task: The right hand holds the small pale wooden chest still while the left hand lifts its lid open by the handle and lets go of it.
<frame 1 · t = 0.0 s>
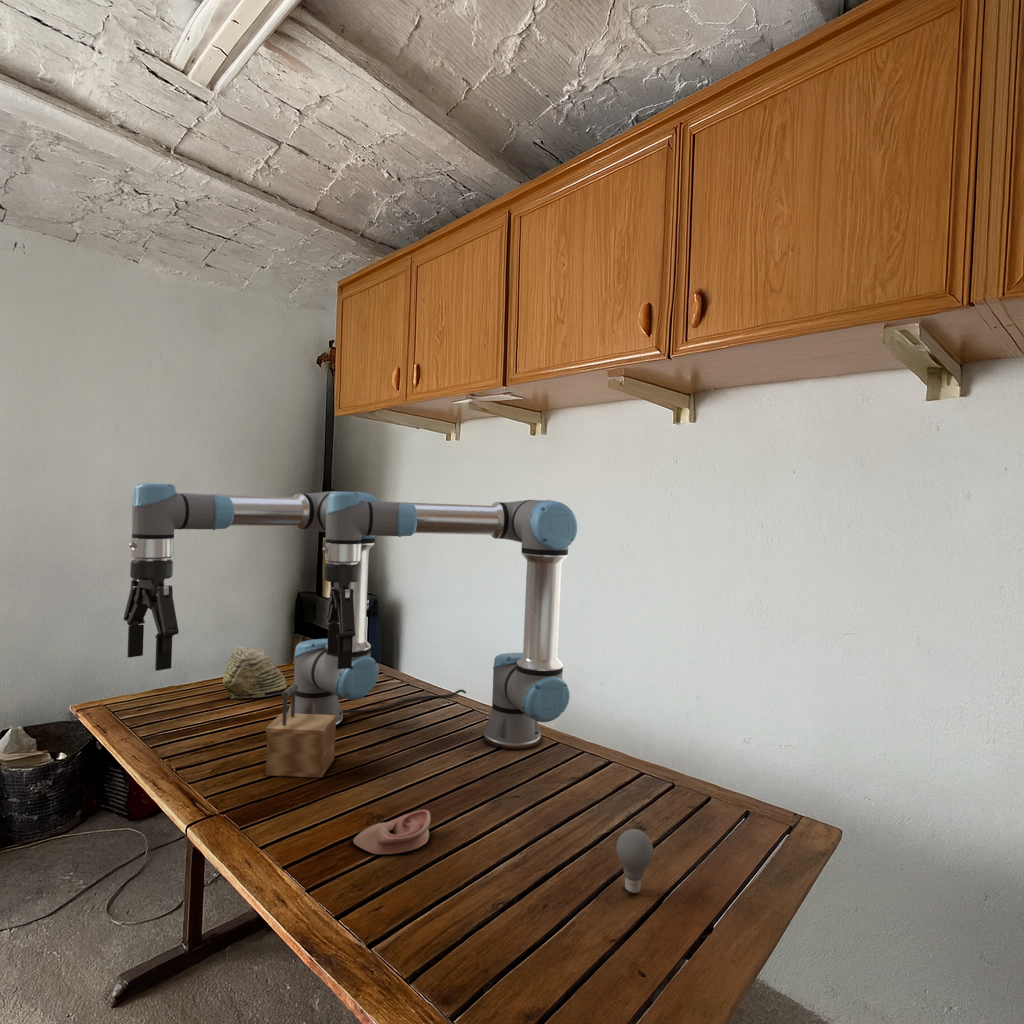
left hand: (148, 662, 129), 28 cm above the table, tool pointing down, fingers open, 13 cm apart
right hand: (338, 660, 137), 28 cm above the table, tool pointing down, fingers open, 13 cm apart
anatomical model: (392, 839, 118), on the table
fossil: (254, 694, 198), on the table
lid: (302, 706, 148), point 14 cm above the table, hinge at 0.0°
light bulb: (632, 891, 106), on the table
chest: (301, 766, 148), on the table
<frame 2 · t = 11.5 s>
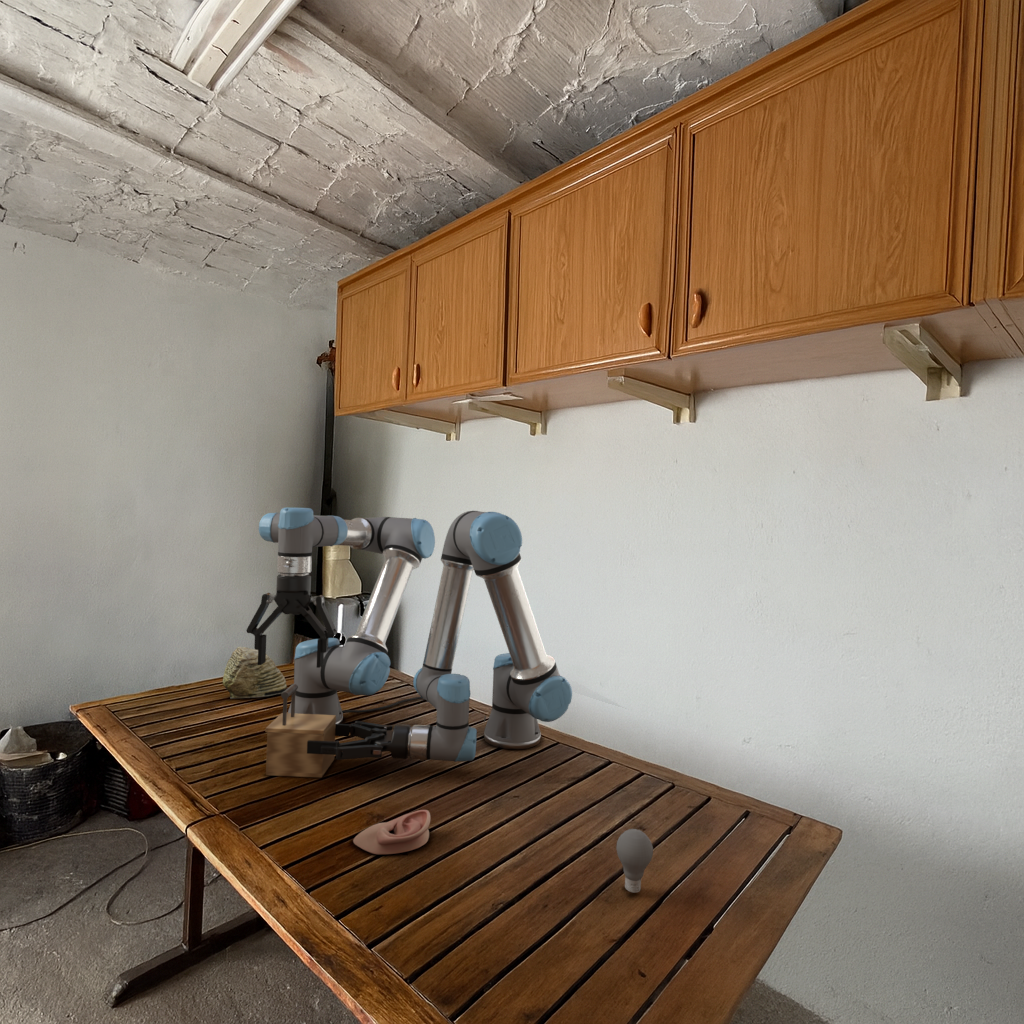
left hand: (290, 665, 147), 24 cm above the table, tool pointing down, fingers open, 13 cm apart
right hand: (315, 737, 148), 7 cm above the table, tool horizontal, fingers closed on chest, 10 cm apart
chest: (301, 766, 148), on the table, touching right hand
everything else where it was.
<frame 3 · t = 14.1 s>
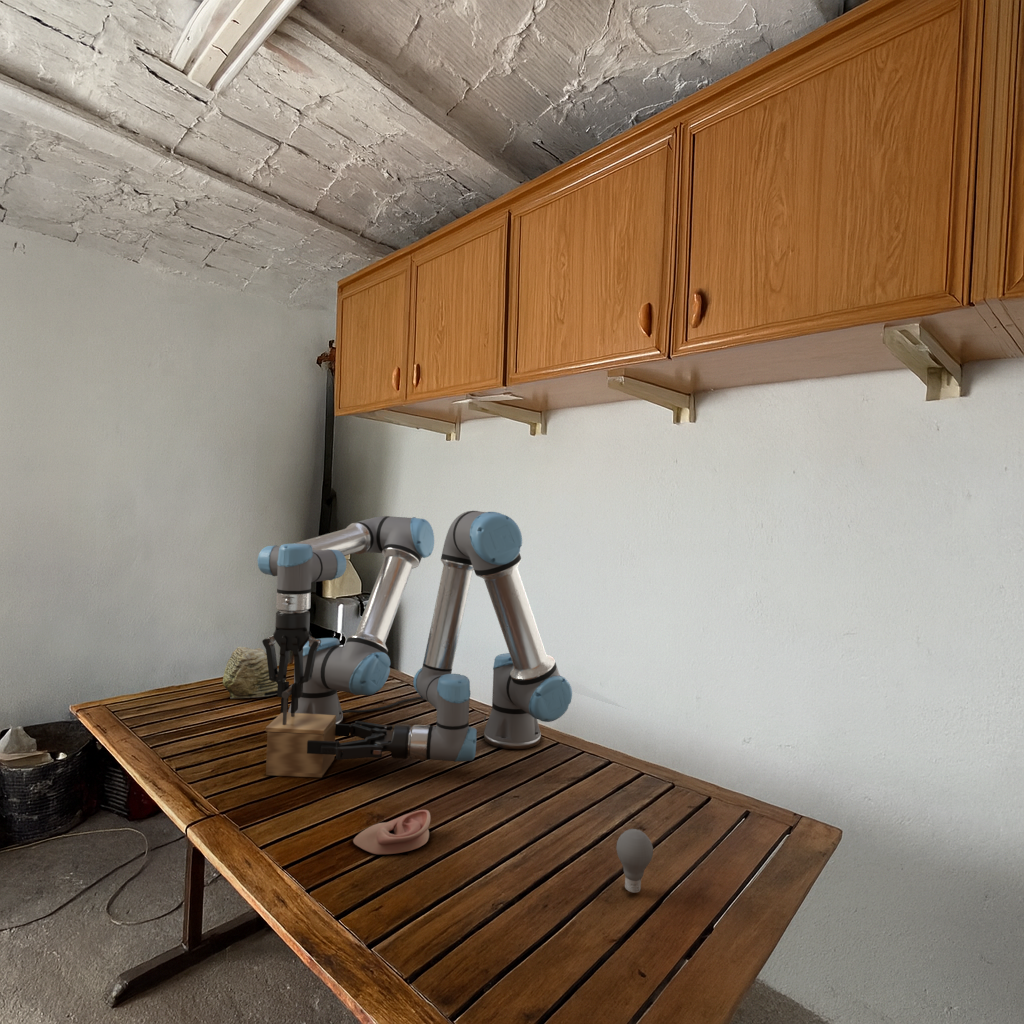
left hand: (289, 710, 148), 13 cm above the table, tool pointing down, fingers closed on lid, 2 cm apart
right hand: (315, 737, 148), 7 cm above the table, tool horizontal, fingers closed on chest, 10 cm apart
lid: (302, 706, 148), point 14 cm above the table, hinge at 0.6°, touching left hand
chest: (301, 766, 148), on the table, touching right hand
everything else where it was.
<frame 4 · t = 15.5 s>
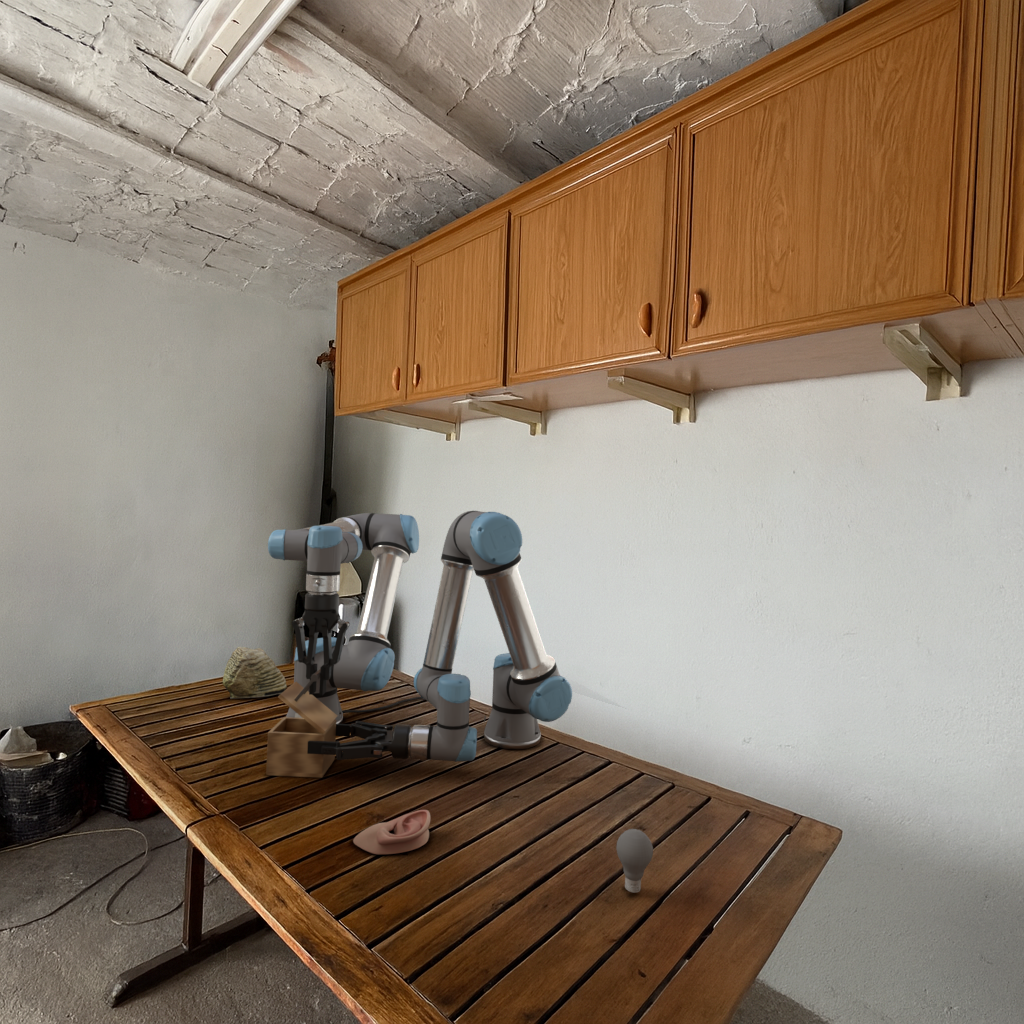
left hand: (317, 692, 147), 18 cm above the table, tool pointing down, fingers closed on lid, 2 cm apart
right hand: (315, 737, 148), 7 cm above the table, tool horizontal, fingers closed on chest, 10 cm apart
lid: (319, 694, 148), point 17 cm above the table, hinge at 37.2°, touching left hand
chest: (301, 766, 148), on the table, touching right hand
everything else where it was.
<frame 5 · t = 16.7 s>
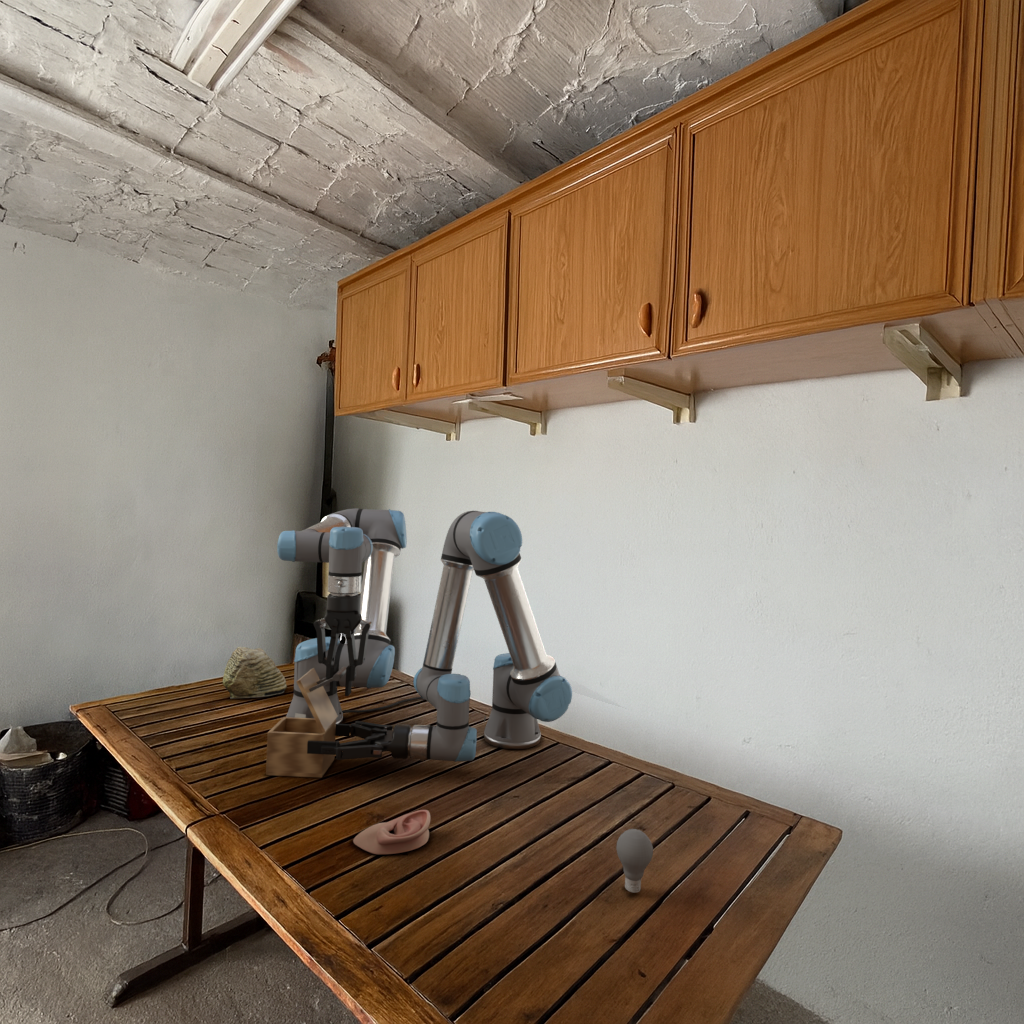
left hand: (340, 693, 148), 18 cm above the table, tool pointing down, fingers open, 3 cm apart
right hand: (315, 737, 148), 7 cm above the table, tool horizontal, fingers closed on chest, 10 cm apart
lid: (332, 692, 148), point 18 cm above the table, hinge at 61.5°
chest: (301, 766, 148), on the table, touching right hand
everything else where it was.
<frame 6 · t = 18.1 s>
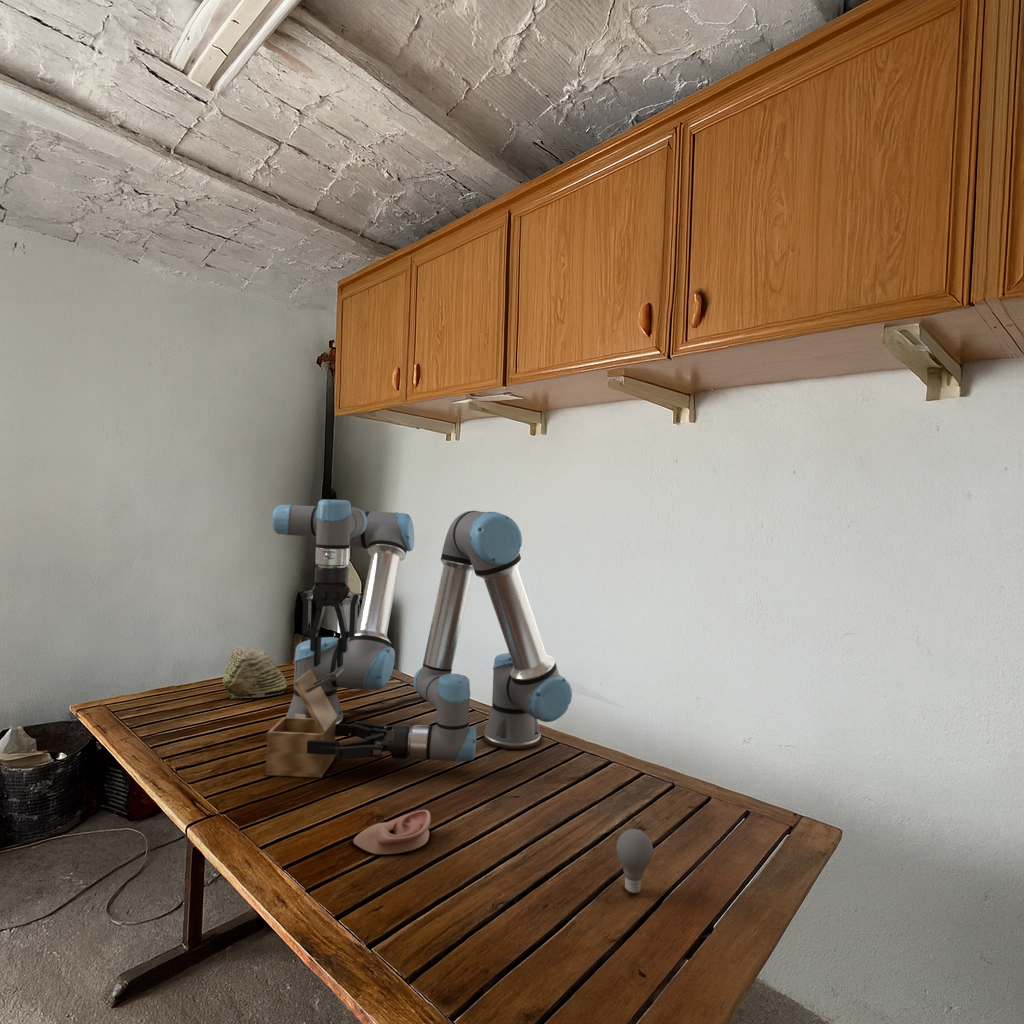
left hand: (328, 665, 148), 24 cm above the table, tool pointing down, fingers open, 5 cm apart
right hand: (315, 737, 148), 7 cm above the table, tool horizontal, fingers closed on chest, 10 cm apart
lid: (330, 692, 148), point 18 cm above the table, hinge at 58.0°
chest: (301, 766, 148), on the table, touching right hand
everything else where it was.
when the right hand's fingers open (7 cm above the table, at t = 20.7 s): chest stays where it is, on the table.
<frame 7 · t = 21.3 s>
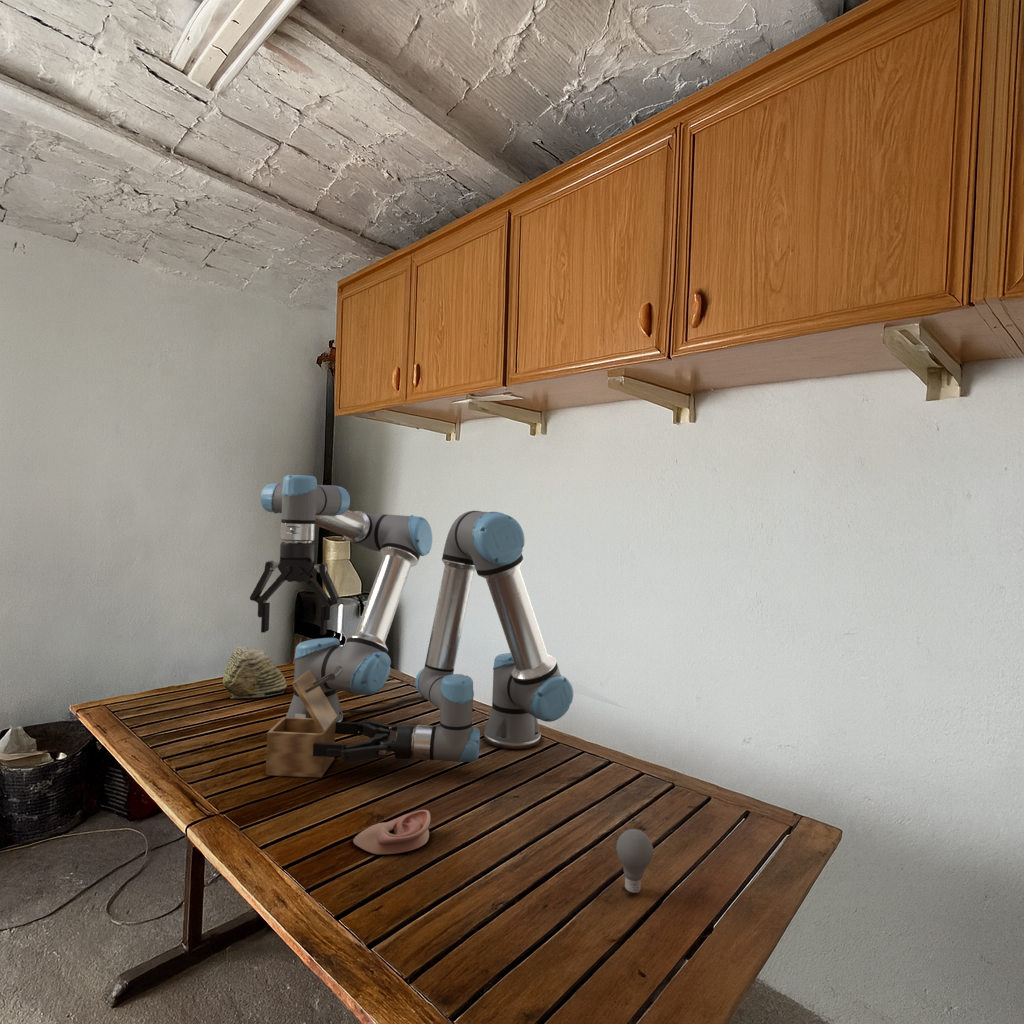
left hand: (294, 632, 147), 31 cm above the table, tool pointing down, fingers open, 13 cm apart
right hand: (322, 737, 148), 7 cm above the table, tool horizontal, fingers open, 13 cm apart
lid: (329, 692, 148), point 18 cm above the table, hinge at 57.0°
chest: (301, 766, 148), on the table
everything else where it was.
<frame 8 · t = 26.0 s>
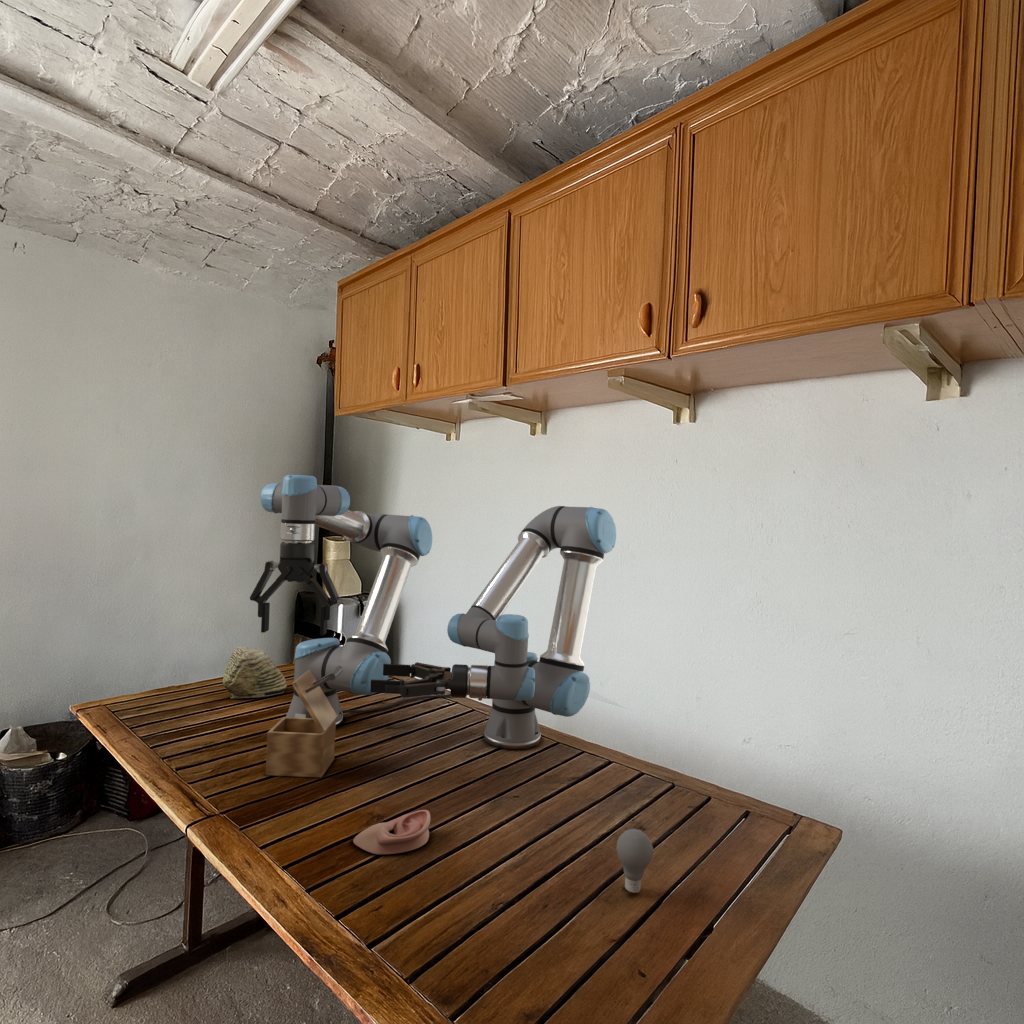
left hand: (294, 632, 147), 31 cm above the table, tool pointing down, fingers open, 13 cm apart
right hand: (377, 677, 147), 22 cm above the table, tool horizontal, fingers open, 13 cm apart
nothing on the table moved.
at the end: lid at +57° (first picture: +0°); the left hand is holding nothing; the right hand is holding nothing; chest tilted 0°; chest never tilted more than 1° during the clip; chest moved 0.1 cm from its start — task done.
